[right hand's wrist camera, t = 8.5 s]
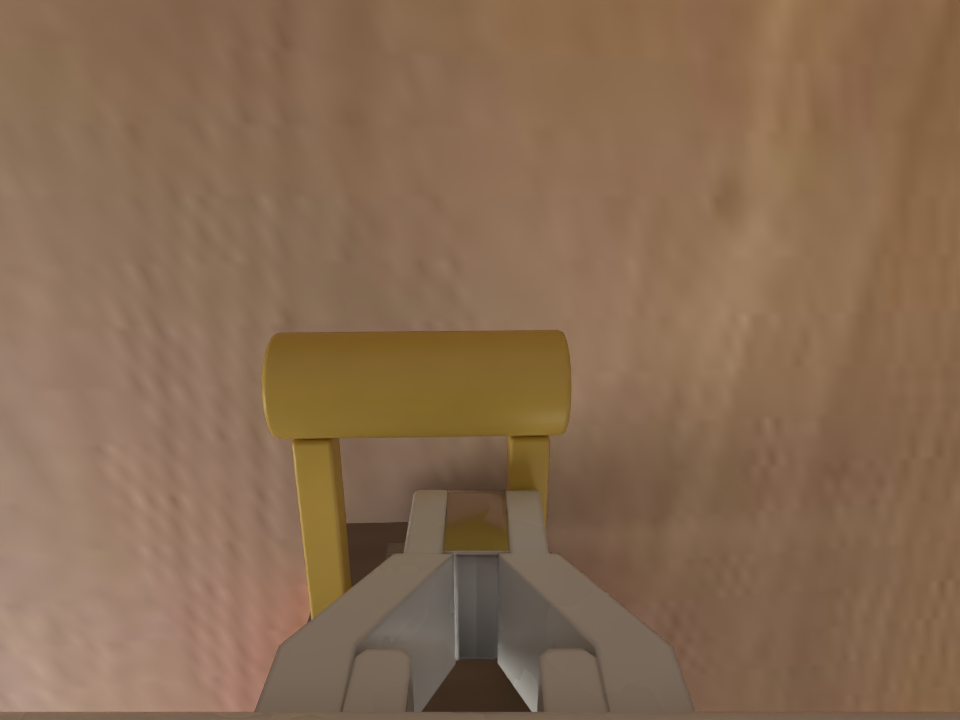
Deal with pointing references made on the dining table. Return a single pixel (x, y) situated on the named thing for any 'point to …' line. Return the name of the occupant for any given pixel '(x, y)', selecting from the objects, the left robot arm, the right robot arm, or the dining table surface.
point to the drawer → (410, 413)
